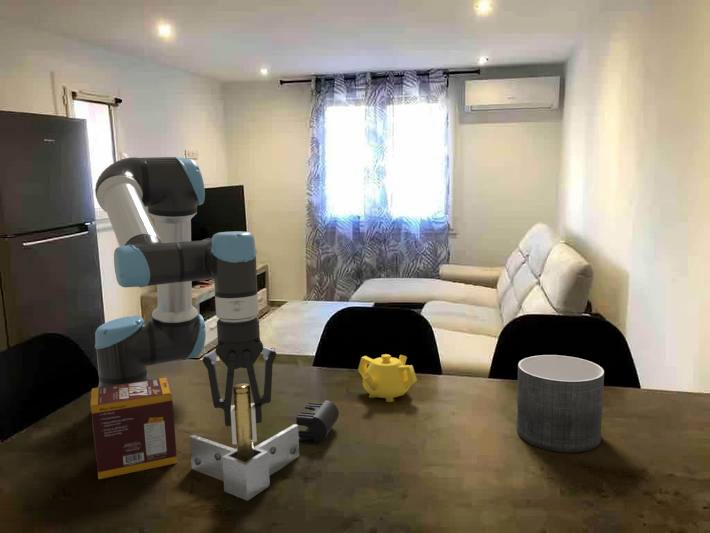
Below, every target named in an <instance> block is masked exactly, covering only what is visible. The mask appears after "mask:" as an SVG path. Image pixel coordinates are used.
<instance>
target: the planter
mask: <svg viewBox="0 0 710 533" xmlns="http://www.w3.org/2000/svg"><path fill="white" fill-rule="evenodd" d="M604 383H605V370H604V368H603V367H602V366H600V365H599V364H597V363H595V362H593V361H590V360H587V359H583V358H580V357H574V356H567V355H558V354H542V355H541V354H540V355H534V356H532V355H531V356H529V357H524V358H523V359H521V360H519V362H518V364H517V405H516V406H517V412H516V413H517V414H516V415H517V416H516V418H517V421H516V432H517V435H518V436H519V437H520V439H522V440H524V441H525V442H526V443H528V444H530V445H532V446H535V447H537V448H540V449H543V450H547V451H549V452H550V451H551V452H558V453H566V454H567V453H575V454H576V453H582V452H588V451H592V450H593V449H596V448H597V447H598V446H600V444H601V443H602V442H601V441H602V422H603V421H602V420H603V405H604V403H603V402H604V387H605V385H604Z"/></svg>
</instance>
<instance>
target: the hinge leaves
mask: <svg viewBox="0 0 710 533" xmlns="http://www.w3.org/2000/svg"><path fill="white" fill-rule="evenodd" d="M298 430H299V425H297V424H295V423H294V424H292V425H290V426H288V427H287V428H285V429H283V430H281V431H280V432H278V433H277V434H275V435H273V436H271V437H269V438H268V439H266V440H264V441H262V442H261V443H258V444H257V445H255V446H253V451H254V457H253V458H251V459H250V460H248V461H246V462H244V461H241V460H239V459H238V458H237V448H234V447H230V446H227V445H225V444H222V443H218V442H216V441H214V440H210V439H207V438H205V437H201V436H198V435H196V434H192V435H190V436H189V448H190V460H191V461H190V462H191V463H190V464H191V469H192V470H193V471H196V472H198V473H201V474H204V475H205V476H209V477H211V478H214V479H217V480H219V481H222V482H223V488H224V489H223V491H224V492H225V493H227V494H230V495H232V496H235V497H237V498H239V499H242V500H244V501H249V500H251V499H253V498H254V497H256V496H257V495H258V494H260V493H261V492H263V491H264V490H266V489H267V488H269V487H270V485H271V484H270V480H271V479H270V476H272V475H274V474H275V473H276V472H278V471H279V470H281V469H283V468H284V467H286V466H287V465H289V464H290V463H291V462H293V461H294V460H296V459H298V458H300V446H299V445H300V443H299V438H300V437H299V435H298Z"/></svg>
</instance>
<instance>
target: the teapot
mask: <svg viewBox="0 0 710 533" xmlns="http://www.w3.org/2000/svg"><path fill="white" fill-rule="evenodd" d="M407 359H408V357H407V356H406V355H403V354H400V355H399V357H398V358H397V357H392V355H390V354H387V353H385V354H381V357H376V358H371V357H369V356H367V355H364V356H362V357H361V358H360V360H359V364H358V368H357V371H358V373H359V374H360V375H361V377H362V388H363V389H364V391H366V392H367V394H369V395H368V398H370V399H375V398H382V399H385V402H387V403H392V402H394V401H395V398H398V397H401V396H404V395H405V393H406V392H408V391H409V389H410V387H411V386H412V385H413V384H415V383H416V382H418V379H417V375H416V372H415V369H414V366H413V365H412V364H410V365H409V364H406V362H407Z"/></svg>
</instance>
